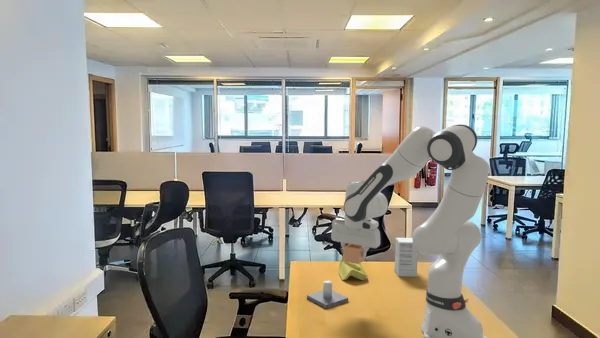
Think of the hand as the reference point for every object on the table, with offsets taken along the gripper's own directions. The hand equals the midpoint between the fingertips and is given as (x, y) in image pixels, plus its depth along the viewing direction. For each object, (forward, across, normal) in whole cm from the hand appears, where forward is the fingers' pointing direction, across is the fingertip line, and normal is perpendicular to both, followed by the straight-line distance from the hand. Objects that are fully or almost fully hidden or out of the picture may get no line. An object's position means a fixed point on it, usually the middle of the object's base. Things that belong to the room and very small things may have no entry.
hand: (354, 254), depth 169 cm
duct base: (+20, -10, -4) cm, 22 cm away
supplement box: (+20, +8, +45) cm, 50 cm away
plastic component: (+21, -14, +30) cm, 39 cm away
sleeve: (+2, 0, 0) cm, 2 cm away
